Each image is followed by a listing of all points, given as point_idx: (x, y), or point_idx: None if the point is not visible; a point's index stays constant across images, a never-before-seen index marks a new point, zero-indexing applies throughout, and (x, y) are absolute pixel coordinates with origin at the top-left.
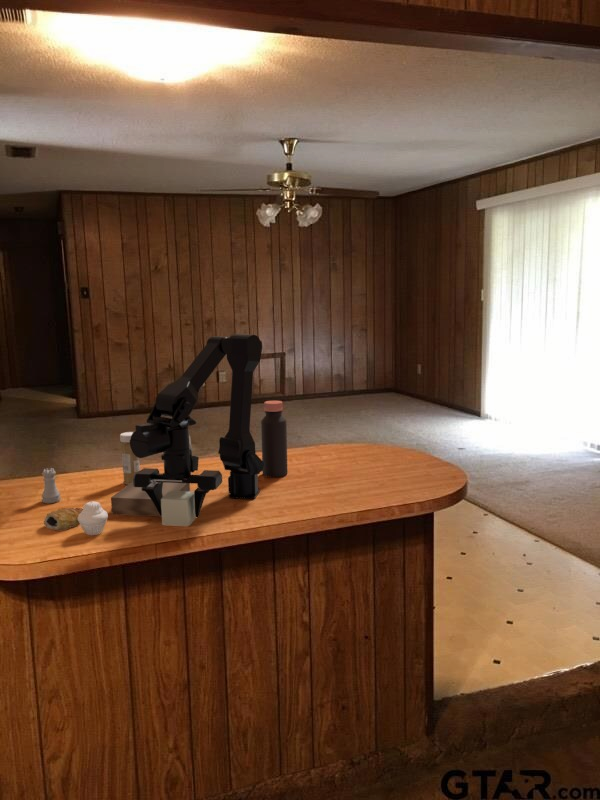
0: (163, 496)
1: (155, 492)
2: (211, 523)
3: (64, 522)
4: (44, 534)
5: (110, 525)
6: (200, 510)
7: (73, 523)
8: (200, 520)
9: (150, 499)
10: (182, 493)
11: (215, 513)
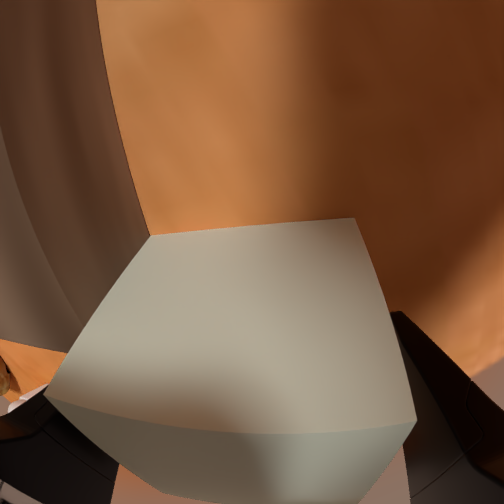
0: (5, 284)
1: (100, 501)
2: (463, 303)
3: (1, 388)
4: (12, 388)
5: (44, 360)
6: (423, 337)
7: (2, 373)
8: (397, 278)
9: (7, 338)
10: (240, 468)
11: (469, 128)
